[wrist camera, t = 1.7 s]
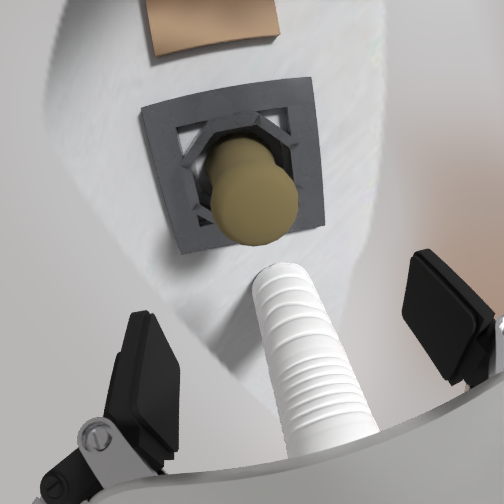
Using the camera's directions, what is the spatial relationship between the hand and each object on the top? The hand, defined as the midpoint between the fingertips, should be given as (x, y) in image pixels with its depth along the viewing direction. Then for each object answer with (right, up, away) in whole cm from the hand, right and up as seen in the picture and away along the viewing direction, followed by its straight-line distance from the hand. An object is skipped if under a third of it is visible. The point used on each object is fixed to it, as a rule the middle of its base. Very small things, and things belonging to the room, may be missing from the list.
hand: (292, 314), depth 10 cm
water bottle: (+2, -2, +24) cm, 24 cm away
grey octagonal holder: (-2, +10, +16) cm, 18 cm away
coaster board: (-5, +23, +7) cm, 25 cm away
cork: (-2, +10, +16) cm, 19 cm away
